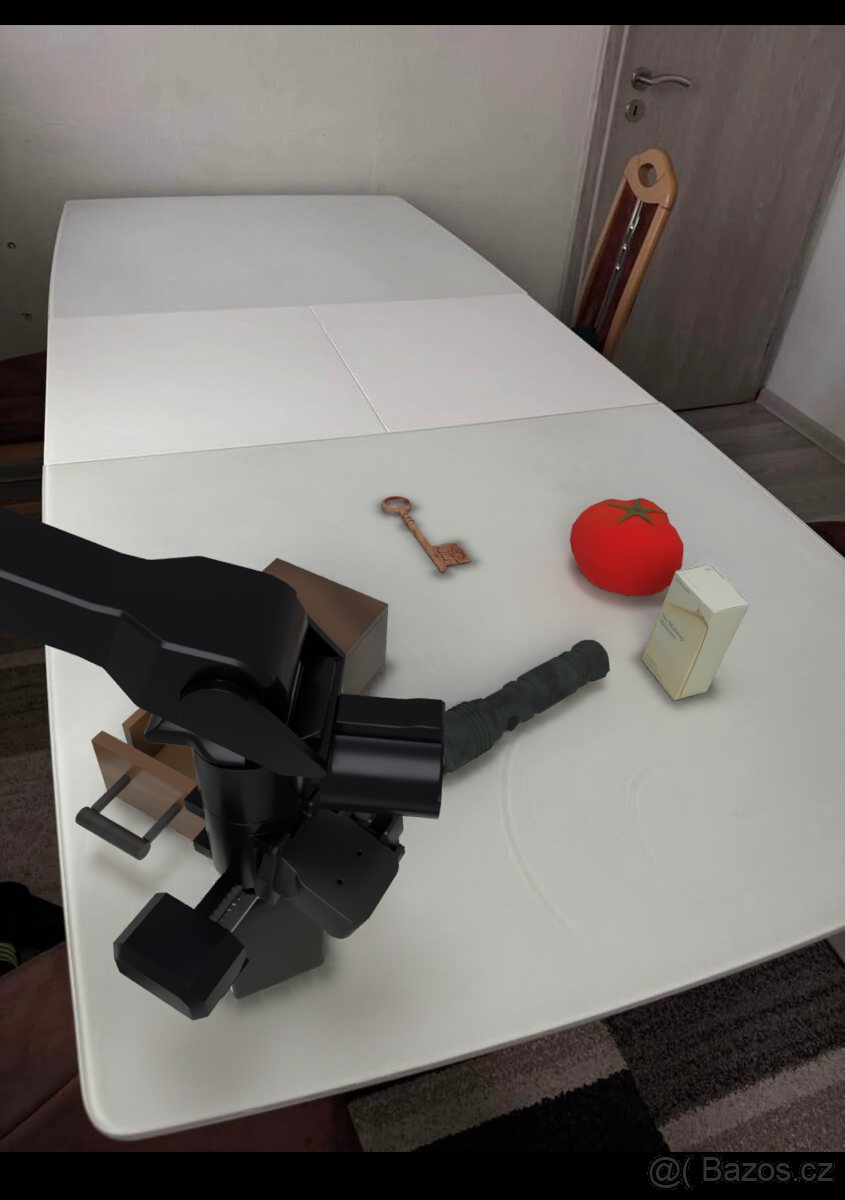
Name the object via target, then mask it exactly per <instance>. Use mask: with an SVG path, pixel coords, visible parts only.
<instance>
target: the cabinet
mask: <svg viewBox="0 0 845 1200" xmlns="http://www.w3.org/2000/svg"><path fill="white" fill-rule="evenodd" d="M261 571H262V572H265V573H268V574H271V575H273V576H275V577H277V578H279V579H281V580H282V581H284V582H286V583H287V584H289V585H290V586H291V587H292V588H293V589H294V590H296V592H297V595H298V596H297V598H298V599H299V601H300V602H301V604H302V606H303V608H304V610H305V611H306V613H307V614H308V615H309V616H310V617H311V618H312V619H313V620H314V622H315V623H316V624H317V625H318V626H319V627H320V628H321V629H322V630H323V631H324V632H325V633H326V634H327V635H328V636H329V637H330V638H331V639H332V640H333V641H334V642H335V643H336V644H337V645H338V646H339V647H340V648H341V650H342V651H343V652H344V653H345V654H346V655H347V660H346V666H345V672H344V678H343V694H353V695H365V693H366V692H367V690H368V689H369V688H370V687H371V686H372V684H373V683H374V682H375V681H376V680H377V678H378V677H379V676H380V675H381V674H382V672H383V671H384V670H385V668H386V658H387V657H386V656H387V640H388V639H387V637H388V621H389V603H387V602H385V601H382V600H380V599H377V598H375V597H373V596H370V595H368V594H365V593H363V592H360V591H358V590H356V589H353V588H351V587H349V586H346V585H344V584H341V583H339V582H336V581H334V580H332V579H330V578H327V577H325V576H322V575H320V574H317V573H315V572H312V571H310V570H308V569H305V568H303V567H301V566H298V565H296V564H293V563H291V562H288V561H286V560H284V559H281V558H278V557H276V558H275V559H274V560H273V561H271V562H270V563H269V564H268V565H267V566H266V567H265V568H264V569H262V570H261ZM299 663H300V662H299ZM297 672H298V671H297ZM296 676H297V675H296ZM295 680H296V679H295ZM293 689H294V688H293ZM292 693H293V692H292ZM291 697H292V696H291Z"/></svg>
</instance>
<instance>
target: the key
mask: <svg viewBox="0 0 845 1200" xmlns="http://www.w3.org/2000/svg"><path fill="white" fill-rule="evenodd" d="M394 501H396V502H397V501H398V502H403V503H405V504H406V505H405V506H402V505H400V504H397V505H396V507H392V506H389V505H387V504H386V503H388V502H389V503H390V502H394ZM380 504H381V507H382V508H383V509H384V510H385V511H387V512H391V513H399V514H400V516H401V518H402V519H403V522H405V525H406V526H407V527H409V529H410V530H411V532H412V533H413V535H414V536H415V537H416V539H417V540H418V542H419V543H420V545H421V546H422V547H423V549H424V550H425V551H426V552H427V554H428V555H429V557H430V558H431V560H432V561H433V562H434V564H435V565H436V567H437V568H438V570H439V571H440V572H446V571H447V570H448V567H447V566H452V565H457V564H465V563H470V562H471V561H472V559H471V558H470V556H469V555H468V553H466V551H465V550H464V549H463V547H462V546H461V544H460V543H459V542H458V541H455V542H448V543H444V544H442V543H441V544H436V545H431V543H430V542H429V541H428V540H427V538H426V536H425V535H424V534H423V533H422V531H421V529H420V528H419V526H418V525H417V524H416V522H415V520H414V519H413V518H412V517H411V516H410V515H409V513H408V512H407V511H409V510H410V509H411V507H412V505H413V504H412V502H411V500H409V499H408V498H406V497H403V496H399V495H396V496H395V495H394V496H392V495H391V496H388V497H386V498H384V499H383V500H382V501H381V503H380Z"/></svg>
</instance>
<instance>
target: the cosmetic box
mask: <svg viewBox="0 0 845 1200" xmlns="http://www.w3.org/2000/svg"><path fill="white" fill-rule="evenodd" d="M750 605H751V603H750V601H749V600H748V599H747V598H746V597H745V596H744V595H743V594H742V593H741V592H740V591H739V590H738V589H737V588H736V587H735V586H734V585H733V583H731V582H730V580H729V579H727V578H726V577H725V576H724V575H723V573H721V572H720V571H719V570H718V569H717V568H716V567H715V566H714V565H713V564H712V563H711V562H709V563H705V564H700V565H696V566H690V567H686V568H681V570H677V571H676V572H675V575H674V577H673V580H672V582H671V585H670V586H669V587H668V590H667V592H666V595H665V598H664V600H663V602H662V605H661V608H660V611H659V612H658V615H657V618H656V621H655V623H654V626H653V628H652V631H651V632H650V633H651V634H650V636H649V638H648V641H647V643H646V646H645V648H644V651H643V654H642V655H641V660H642V662H643V663H644V664H645V666H646V667H647V669H648V670H649V671H650V672H651V674H652V675H653V676H654V677H655V678H656V680H657V681H658V683H659V684H660V685H661V686H662V688H663V689H664V690H665V692H666V693H667V694H668V695H669V696H670V698H671V699H672V700H673V701H677V700H681V699H684V698H688V697H691V696H692V697H693V696H695V695H699V694H702V693H706V692H708V690H709V689H710V686H711V684H712V682H713V680H714V678H715V676H716V674H717V672H718V670H719V668H720V666H721V664H722V662H723V660H724V657H725V655H726V654H727V651H728V649H729V648H730V645H731V643H732V641H733V640H734V638H735V635H736V633H737V631H738V629H739V627H740V625H741V623H742V621H743V619H744V617H745V615H746V613H747V611H748V609H749V607H750Z"/></svg>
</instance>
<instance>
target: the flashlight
mask: <svg viewBox="0 0 845 1200" xmlns="http://www.w3.org/2000/svg"><path fill="white" fill-rule="evenodd" d="M610 670H611V667H610V658H609V654H608V652H607V650H606V649H605V647H604V646H603V645H602V644H601V643H600V642H599V641H597V640H595V639H582V640H580V641H578V642H577V643H575V644H574V645H572V647H571V649H570V650H566V651H565V650H564V651H563V652H561V653H560V654H558V655H557V656H554V657H552V658H550V659H548V660H546V661H544V662H543V663H541V664H539V665H537V666H534V667H533V668H531V669H530V670H527V671H526V672H524V673H522V674H520V675H519V676H517V678H516V680H510V681H508V682H506V683H505V684H504V685H502V687H501V688H500V689H498V690H496V691H495V692H492V693H491V694H489V695H487V696H485V697H484V698H482V697H478V698H474V699H471V700H464V701H463V700H462V701H461V702H459V703H456V705H454V706H451V707H450V708H448V709H445V733H444V756H443V777H444V776H446V775H447V774H452V773H454V772H455V771H457V770H459V769H460V768H462V767H463V766H466V765H467V764H469V763H470V762H472V761H473V760H476V759H477V758H478V757H480V756H482V755H483V754H485V753H487V752H488V751H490V750H492V748H493V746H494V745H495V744H496V743H497V742H498V741H499V740H500V739H501V738H502V737H503V735H504V733H506V732H507V731H508V732H512V731H514V730H515V729H516V728H517V727H518V725H519V724H520V723H526V722H528V721H530V720H532V719H533V718H534V716H535V715H536V714H537V715H538V714H542V713H543V712H545V711H547V710H548V709H550V708H552V707H553V706H555V705H557V704H558V703H560V702H561V701H563V700H565V699H567V698H568V697H570V696H571V695H573V694H575V693H577V691H578V689H579V688H581V687H584V686H585V685H587V684H588V683H591V682H592V683H593V682H597V681H599V680H602V679H604V678H606V677H607V675H608V673H610Z"/></svg>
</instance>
